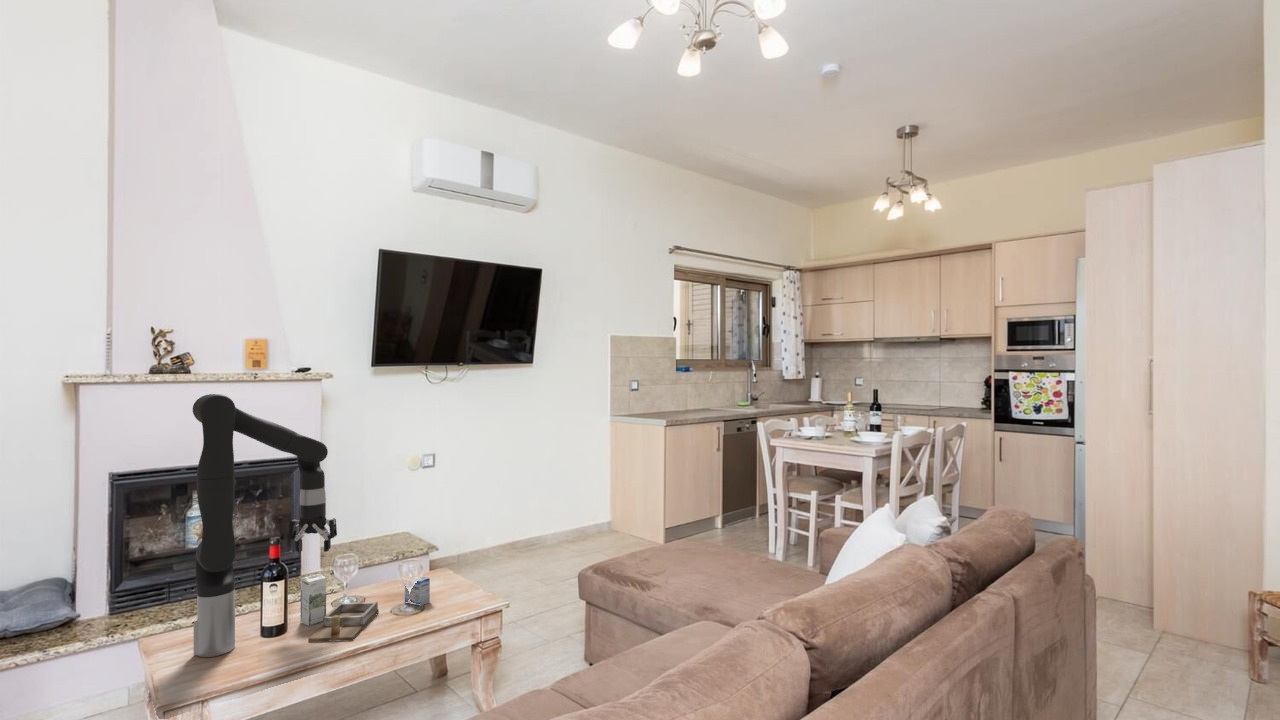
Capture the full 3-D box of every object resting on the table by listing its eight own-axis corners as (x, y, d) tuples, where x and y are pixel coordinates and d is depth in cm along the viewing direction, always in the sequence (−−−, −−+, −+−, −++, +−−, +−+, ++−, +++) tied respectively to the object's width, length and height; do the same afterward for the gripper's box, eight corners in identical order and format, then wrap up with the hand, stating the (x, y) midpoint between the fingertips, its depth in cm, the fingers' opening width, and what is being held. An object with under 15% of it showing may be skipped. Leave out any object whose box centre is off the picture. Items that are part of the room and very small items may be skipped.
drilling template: (308, 641, 189) (308, 622, 189) (339, 613, 211) (339, 595, 211) (352, 640, 190) (352, 620, 190) (378, 612, 212) (378, 594, 212)
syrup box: (318, 616, 209) (317, 573, 209) (326, 621, 205) (326, 576, 205) (300, 622, 204) (300, 577, 204) (308, 627, 200) (308, 581, 201)
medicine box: (404, 602, 220) (404, 578, 221) (414, 598, 224) (414, 574, 224) (420, 606, 217) (420, 581, 217) (430, 602, 221) (430, 577, 221)
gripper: (284, 504, 201) (284, 555, 201) (330, 503, 201) (330, 554, 201) (296, 499, 208) (296, 548, 208) (339, 498, 209) (340, 547, 209)
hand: (313, 551), depth 205 cm, fingers open, 8 cm apart
